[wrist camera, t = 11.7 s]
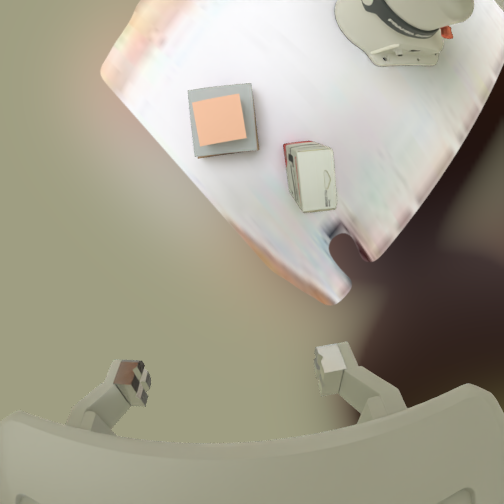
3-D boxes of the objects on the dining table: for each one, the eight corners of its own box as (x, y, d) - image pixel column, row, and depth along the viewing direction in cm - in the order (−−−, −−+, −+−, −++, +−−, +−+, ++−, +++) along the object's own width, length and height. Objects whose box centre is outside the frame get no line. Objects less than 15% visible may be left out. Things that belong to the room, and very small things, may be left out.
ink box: (281, 143, 42) (296, 150, 32) (310, 140, 42) (334, 146, 32) (288, 192, 46) (303, 215, 36) (316, 189, 46) (338, 210, 35)
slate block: (249, 88, 34) (251, 83, 30) (254, 147, 38) (257, 150, 34) (193, 94, 34) (187, 90, 30) (200, 153, 38) (194, 157, 34)
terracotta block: (239, 98, 31) (239, 93, 25) (245, 136, 33) (246, 138, 27) (199, 106, 31) (191, 102, 25) (206, 143, 33) (200, 146, 28)
